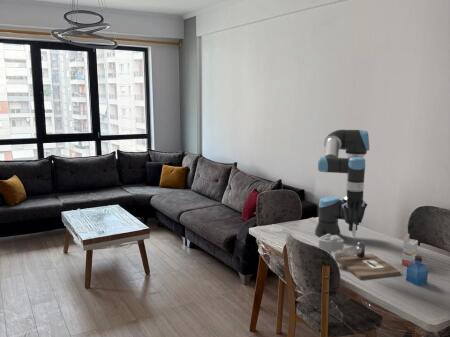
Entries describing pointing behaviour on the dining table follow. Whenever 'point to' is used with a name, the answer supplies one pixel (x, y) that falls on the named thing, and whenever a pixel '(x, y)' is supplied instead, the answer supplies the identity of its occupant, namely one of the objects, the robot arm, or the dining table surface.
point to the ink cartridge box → (409, 250)
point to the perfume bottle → (417, 272)
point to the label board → (367, 266)
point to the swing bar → (350, 251)
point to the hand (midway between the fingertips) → (352, 236)
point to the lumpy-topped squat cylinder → (330, 243)
